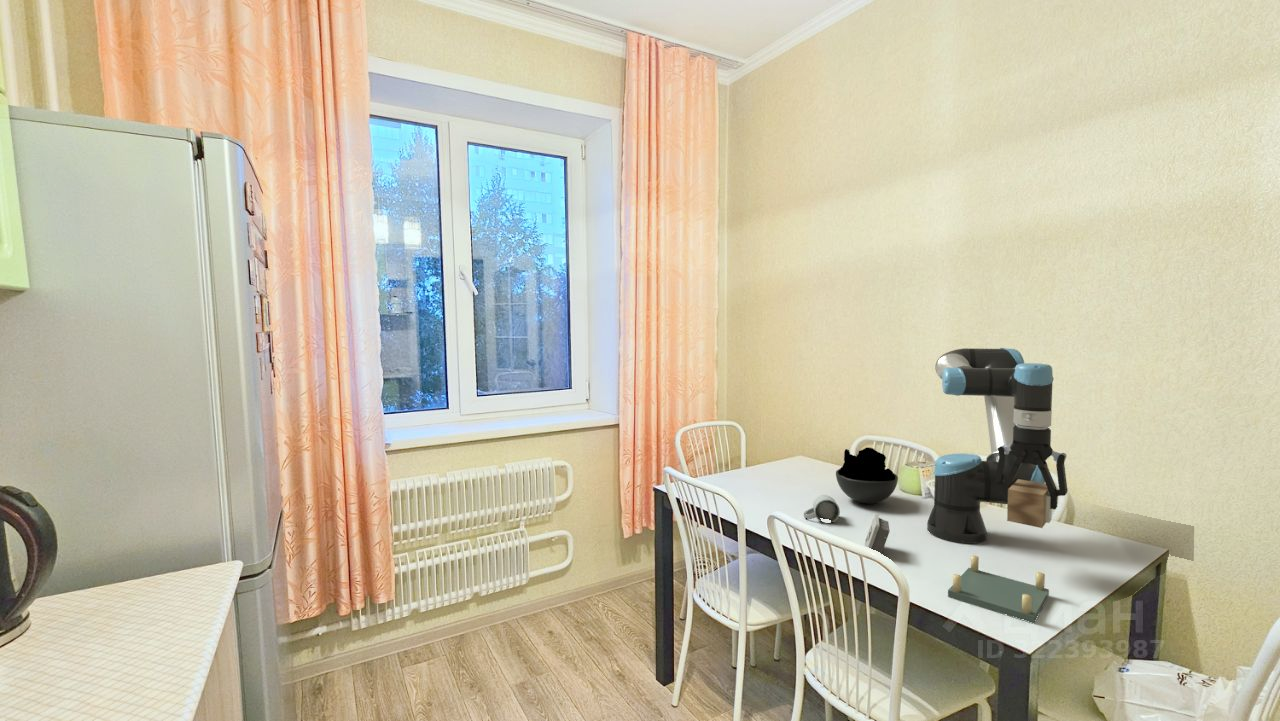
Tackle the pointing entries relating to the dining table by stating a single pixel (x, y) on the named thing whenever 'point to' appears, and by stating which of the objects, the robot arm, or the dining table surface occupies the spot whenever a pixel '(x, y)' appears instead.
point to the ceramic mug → (823, 509)
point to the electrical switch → (877, 534)
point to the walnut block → (1027, 503)
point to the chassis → (1000, 592)
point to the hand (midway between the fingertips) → (1029, 517)
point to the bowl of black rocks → (866, 477)
